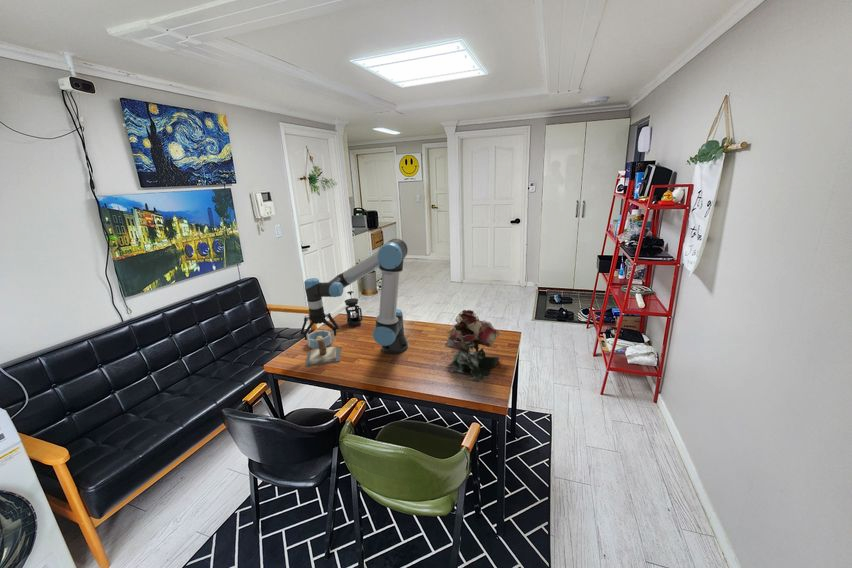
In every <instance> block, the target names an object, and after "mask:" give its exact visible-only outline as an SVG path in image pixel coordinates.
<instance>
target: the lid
mask: <svg viewBox="0 0 852 568" xmlns="http://www.w3.org/2000/svg"><path fill="white" fill-rule="evenodd" d="M318 346H319V349H313V348H312V349H311V350H310V352H311V354H310V359H309V364H315V363H322V362H328V361H335V360H336V353H337V348H338V347H337V346H336V345H335V346H330V347H329V346H327V347H326V346H325V340H324V339H321V340H318Z"/></svg>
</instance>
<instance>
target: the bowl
mask: <svg viewBox="0 0 852 568" xmlns="http://www.w3.org/2000/svg"><path fill="white" fill-rule="evenodd" d="M308 334H309V340H310V346H308V345H307V346H308V348H310V349H312V350H313V349H319V346H318V340H321V339H324V340H325V346H326V348H328V347H329V346H330V345H331V344H332V334H331V331H329V330H326V329H324V330H315V331H313V332H311V333H308Z"/></svg>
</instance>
